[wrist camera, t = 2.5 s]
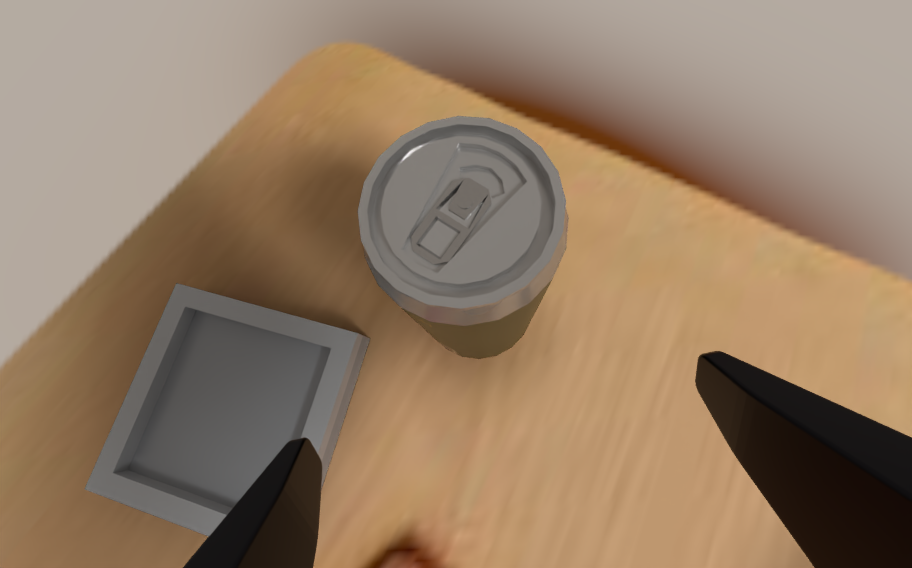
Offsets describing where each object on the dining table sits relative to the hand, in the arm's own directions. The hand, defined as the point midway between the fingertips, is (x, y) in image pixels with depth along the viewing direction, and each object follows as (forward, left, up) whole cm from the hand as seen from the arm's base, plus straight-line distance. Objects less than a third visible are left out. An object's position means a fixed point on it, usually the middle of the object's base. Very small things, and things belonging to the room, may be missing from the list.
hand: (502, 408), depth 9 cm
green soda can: (+2, -4, -11) cm, 12 cm away
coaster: (+12, +4, -11) cm, 17 cm away
